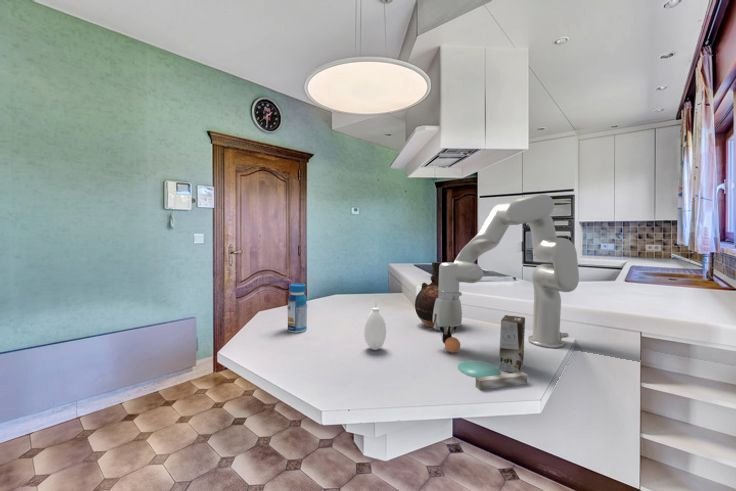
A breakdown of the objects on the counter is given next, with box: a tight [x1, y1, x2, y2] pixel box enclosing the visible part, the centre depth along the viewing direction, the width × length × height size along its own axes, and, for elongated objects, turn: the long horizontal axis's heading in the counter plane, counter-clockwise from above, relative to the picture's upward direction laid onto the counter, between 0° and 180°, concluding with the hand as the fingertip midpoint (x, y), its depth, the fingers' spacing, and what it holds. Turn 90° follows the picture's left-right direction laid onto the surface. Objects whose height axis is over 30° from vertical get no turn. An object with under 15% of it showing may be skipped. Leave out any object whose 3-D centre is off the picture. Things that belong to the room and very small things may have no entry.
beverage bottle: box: [287, 283, 308, 334], centre depth 143 cm, size 8×8×20 cm
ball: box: [444, 336, 461, 354], centre depth 120 cm, size 6×6×6 cm
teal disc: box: [457, 360, 502, 378], centre depth 106 cm, size 13×13×1 cm
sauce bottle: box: [363, 301, 387, 351], centre depth 122 cm, size 8×8×18 cm
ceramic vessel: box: [414, 261, 442, 329], centre depth 153 cm, size 21×18×30 cm
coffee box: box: [498, 314, 526, 374], centre depth 108 cm, size 9×6×16 cm
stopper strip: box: [475, 371, 528, 391], centre depth 95 cm, size 16×2×2 cm, turn 106°
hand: (446, 343), depth 125 cm, fingers closed
